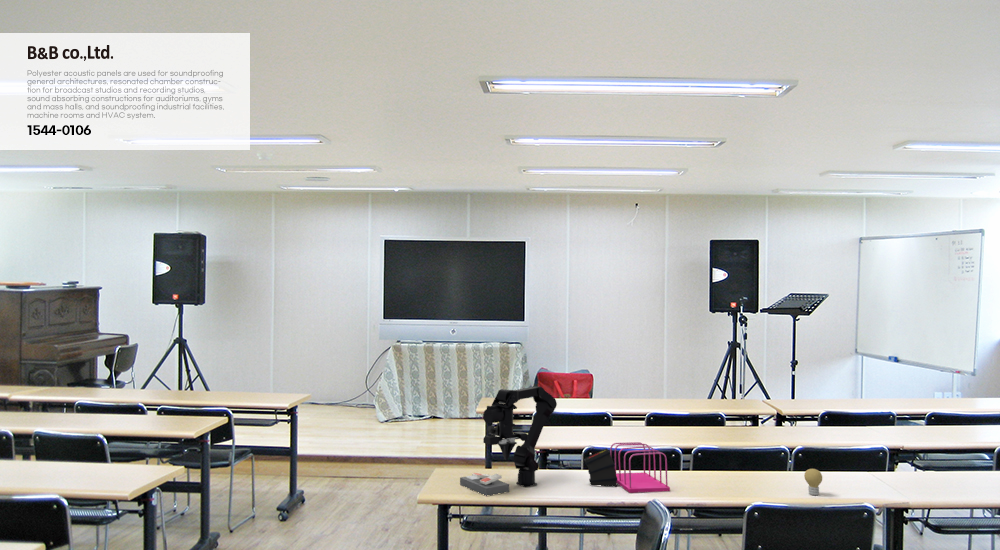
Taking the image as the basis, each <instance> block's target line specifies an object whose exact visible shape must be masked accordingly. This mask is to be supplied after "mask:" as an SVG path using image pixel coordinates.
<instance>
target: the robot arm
mask: <svg viewBox="0 0 1000 550" xmlns="http://www.w3.org/2000/svg"><path fill="white" fill-rule="evenodd" d="M529 398H532V399H533V402H534V403H536V404H535V415H534V418H533V420H532V423H531V425H530V426H529V427H530V428H529V429H528V433H527V432H522V431H514V427H515V426H516V423H514V410H516V409H517V408H518V407H517V406H516V405H515V404H516V403H517V402H518V401H520V400H524V399H529ZM557 403H558V402H557V399H556V398H555V397H553V395H551V394H550V393H549V392H548V391H547V390H545V389H544V387H542V386H538V385H533V386H530V387H524V388H523V387H522V388H519V389H503V388H501V389H499V390H498V391H497V393H496V396H495V397H494V399H493V402H492V403H491V405H487V406H486V409H485V410H484V411H483V414H482V418H483V420H484V423H486V424H489V425H488V426H487V434H488V435H485V436H484V437H483V443H482V444H486V445H488V446H497V445H498V447H499V448H500V450H501V451H500V452H501V453H502V455H503V459H504V460H505V461H508V460H509V457H510V455H511V453H512V451H513V449H514V447H515V446H516V445H517V446H516V448H515V451H514V452H513V457H512V459H513V463H514V466H515V469H518V473H517V482H516V485H519V486H522V487H525V488H526V487H531V486H537V485H538V483H537V482H536V472H537V471H539V467H540V465H539V464H538V462H537V461H536V460H535V458H536V451H535V448H536V445H537V443H538V441H539V438H540V435H541V433H542V431H543V428H544V426H545V423H546V421H547V419H548V417H550V416H552V414H553V413H554V412H555V410H556V408H557V405H558V404H557ZM495 423H496V426H494V425H490V424H495ZM516 440H521V441H522V442H523V444H522V445H518V442H517V441H516Z"/></svg>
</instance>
